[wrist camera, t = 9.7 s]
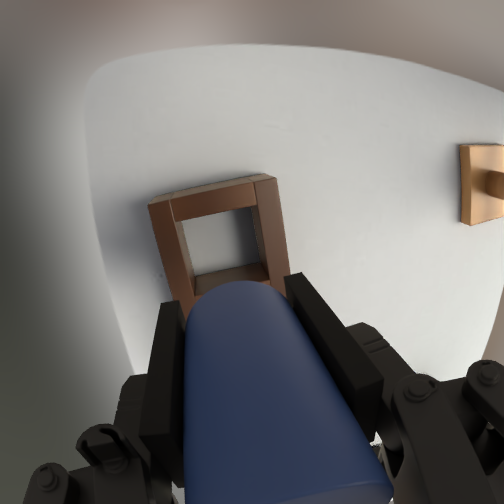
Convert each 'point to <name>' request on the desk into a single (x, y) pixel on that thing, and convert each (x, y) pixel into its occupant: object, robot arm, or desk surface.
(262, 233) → the holder
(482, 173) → the peg stand
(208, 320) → the blue cylinder
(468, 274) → the desk surface
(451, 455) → the robot arm
